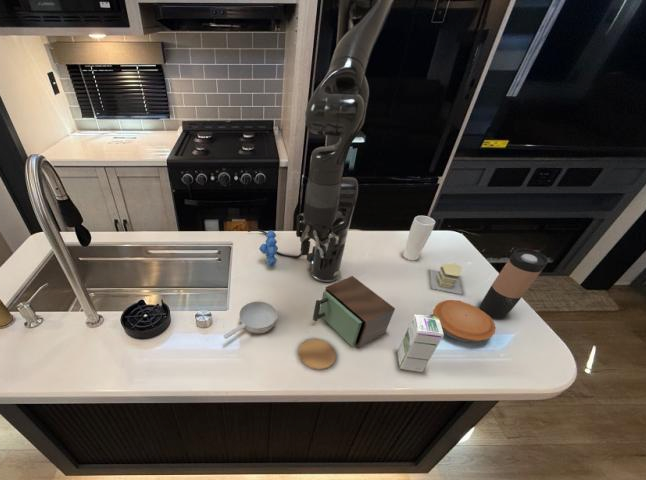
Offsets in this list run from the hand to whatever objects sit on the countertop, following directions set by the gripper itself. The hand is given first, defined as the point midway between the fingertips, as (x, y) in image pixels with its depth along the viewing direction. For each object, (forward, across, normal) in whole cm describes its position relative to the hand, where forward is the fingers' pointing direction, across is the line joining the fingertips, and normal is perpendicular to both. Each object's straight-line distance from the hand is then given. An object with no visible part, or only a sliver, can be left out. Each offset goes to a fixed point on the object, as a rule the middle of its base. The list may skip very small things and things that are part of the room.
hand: (313, 260), depth 81 cm
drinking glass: (+20, +4, -52) cm, 56 cm away
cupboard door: (+19, -9, -2) cm, 21 cm away
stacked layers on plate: (+20, -12, -50) cm, 55 cm away
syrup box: (+20, -27, -13) cm, 36 cm away
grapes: (+20, +29, -5) cm, 35 cm away
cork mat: (+20, -13, +6) cm, 25 cm away
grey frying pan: (+20, +4, +17) cm, 27 cm away
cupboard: (+20, -9, -10) cm, 24 cm away
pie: (+20, -26, -35) cm, 48 cm away
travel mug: (+20, -28, -50) cm, 60 cm away
